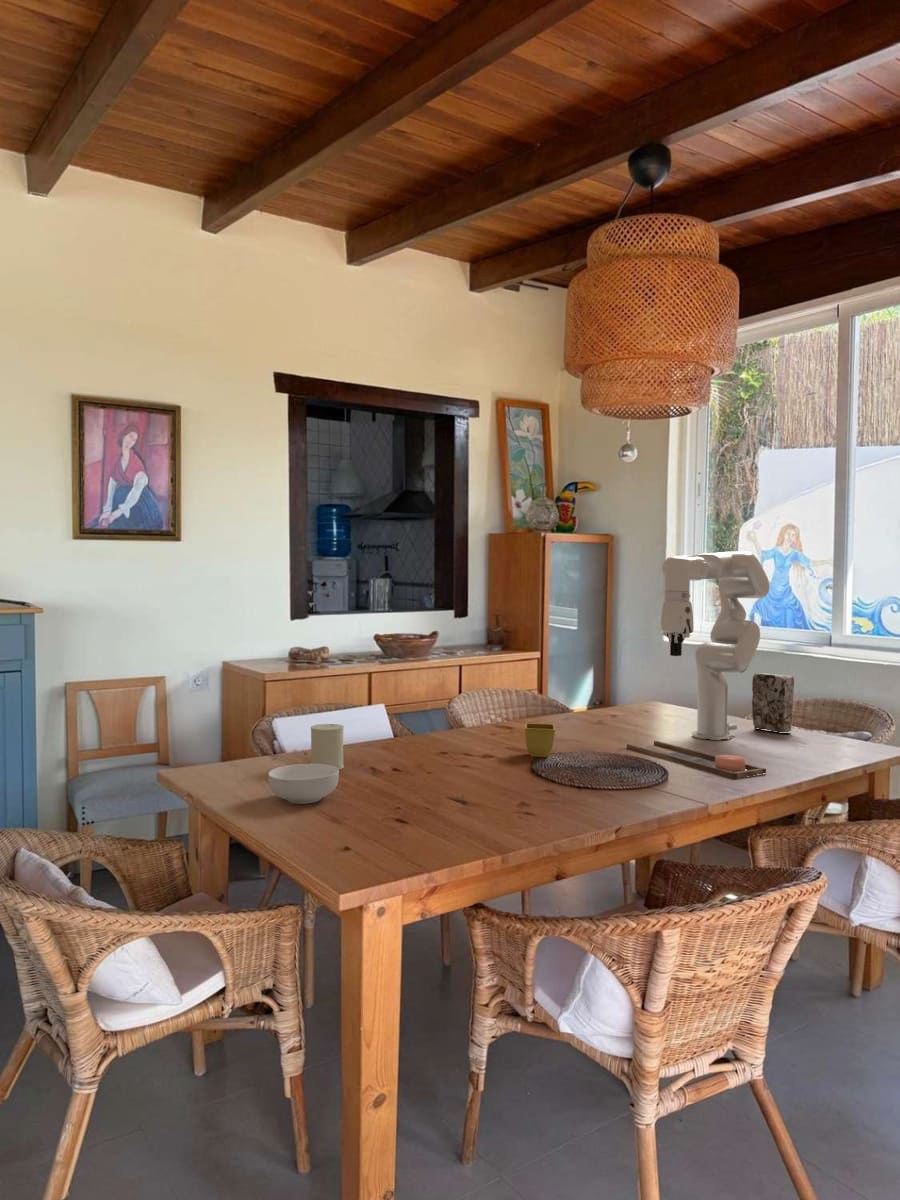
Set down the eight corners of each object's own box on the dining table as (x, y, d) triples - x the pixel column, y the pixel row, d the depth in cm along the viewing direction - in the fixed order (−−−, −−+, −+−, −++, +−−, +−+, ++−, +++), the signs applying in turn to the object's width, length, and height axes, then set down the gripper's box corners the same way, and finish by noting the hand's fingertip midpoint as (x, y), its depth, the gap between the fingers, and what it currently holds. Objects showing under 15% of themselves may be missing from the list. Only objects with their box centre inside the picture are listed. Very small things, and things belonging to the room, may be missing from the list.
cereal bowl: (307, 787, 226) (307, 759, 226) (353, 798, 215) (353, 769, 215) (253, 800, 213) (253, 771, 212) (299, 813, 202) (299, 782, 202)
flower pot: (554, 753, 269) (554, 723, 269) (554, 759, 260) (555, 729, 260) (525, 752, 270) (525, 723, 269) (524, 758, 261) (524, 728, 261)
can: (350, 766, 250) (350, 723, 249) (332, 772, 241) (332, 729, 241) (322, 762, 254) (322, 721, 253) (304, 769, 245) (304, 726, 245)
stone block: (794, 733, 304) (795, 675, 303) (784, 735, 299) (785, 676, 299) (758, 727, 314) (759, 671, 313) (748, 730, 309) (749, 673, 308)
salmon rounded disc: (727, 765, 252) (727, 753, 252) (751, 771, 246) (751, 758, 246) (709, 769, 248) (709, 756, 248) (733, 775, 241) (733, 762, 241)
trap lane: (656, 745, 282) (656, 740, 282) (765, 774, 243) (766, 768, 243) (626, 748, 276) (626, 744, 276) (734, 779, 237) (734, 773, 237)
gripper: (703, 597, 271) (702, 657, 271) (669, 595, 284) (668, 653, 285) (684, 597, 267) (683, 658, 268) (651, 596, 280) (650, 654, 281)
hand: (675, 655), depth 276 cm, fingers closed
